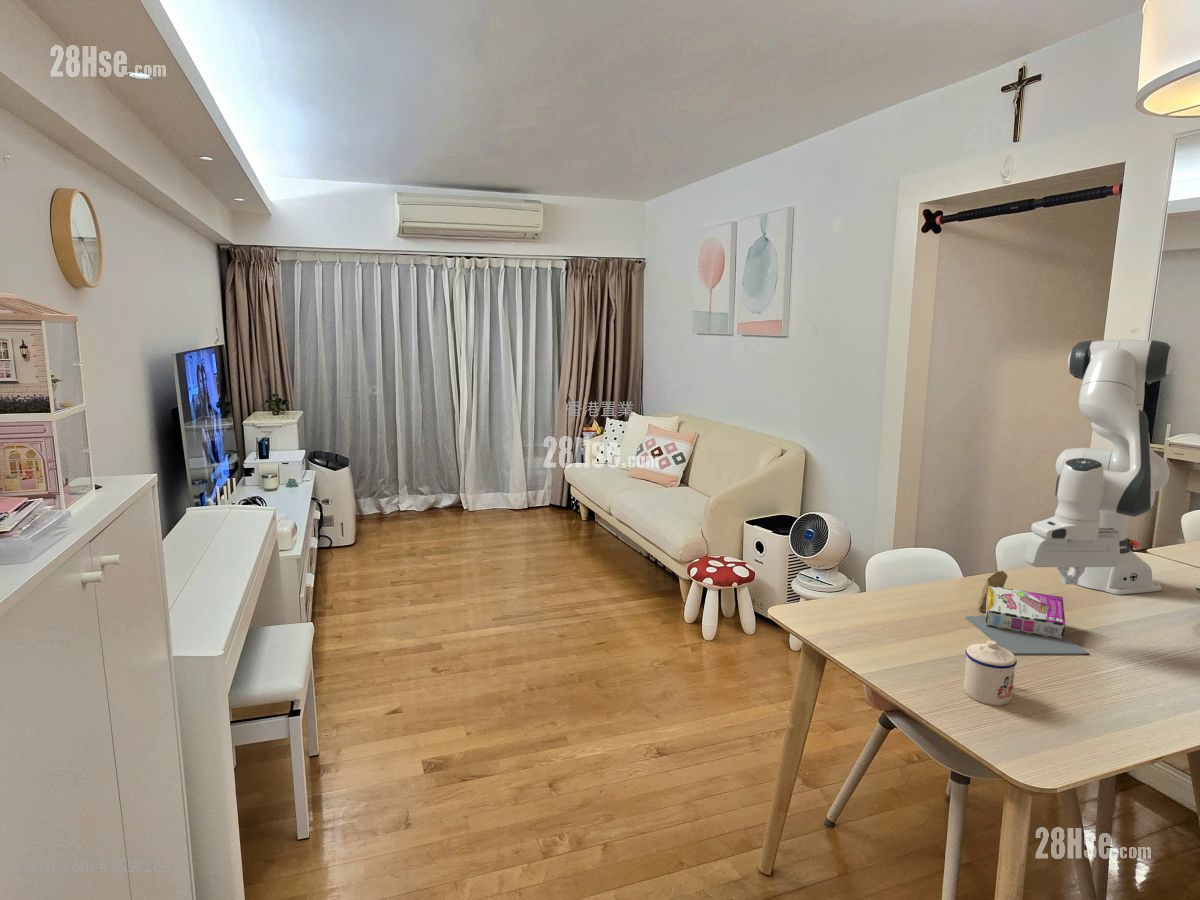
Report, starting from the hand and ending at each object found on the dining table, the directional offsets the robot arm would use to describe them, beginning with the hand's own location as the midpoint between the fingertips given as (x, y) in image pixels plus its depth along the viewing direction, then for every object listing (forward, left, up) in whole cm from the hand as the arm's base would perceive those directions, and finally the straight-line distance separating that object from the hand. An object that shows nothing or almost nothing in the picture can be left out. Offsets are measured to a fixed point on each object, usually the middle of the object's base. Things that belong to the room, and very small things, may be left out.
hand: (1069, 583), depth 165 cm
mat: (+9, 0, -13) cm, 16 cm away
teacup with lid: (+31, +26, -14) cm, 43 cm away
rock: (+9, -18, -14) cm, 24 cm away
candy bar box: (-1, -1, -9) cm, 9 cm away
